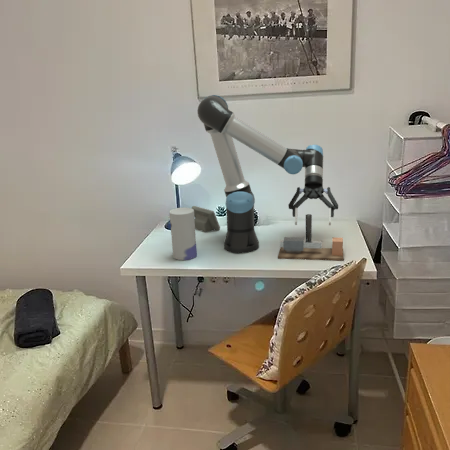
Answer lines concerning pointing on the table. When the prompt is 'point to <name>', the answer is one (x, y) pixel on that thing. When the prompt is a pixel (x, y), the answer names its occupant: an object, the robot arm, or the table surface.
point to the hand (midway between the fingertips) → (312, 223)
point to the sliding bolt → (308, 235)
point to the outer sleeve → (293, 245)
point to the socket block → (337, 246)
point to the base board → (311, 254)
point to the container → (183, 233)
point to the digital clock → (205, 219)
